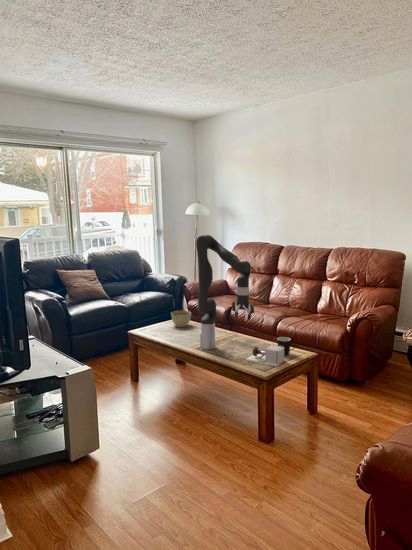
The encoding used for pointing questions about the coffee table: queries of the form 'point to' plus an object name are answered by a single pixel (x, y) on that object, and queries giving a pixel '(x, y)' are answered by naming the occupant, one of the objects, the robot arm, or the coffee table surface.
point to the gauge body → (269, 356)
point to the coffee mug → (285, 344)
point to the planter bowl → (181, 318)
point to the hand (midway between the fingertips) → (242, 318)
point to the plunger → (258, 352)
